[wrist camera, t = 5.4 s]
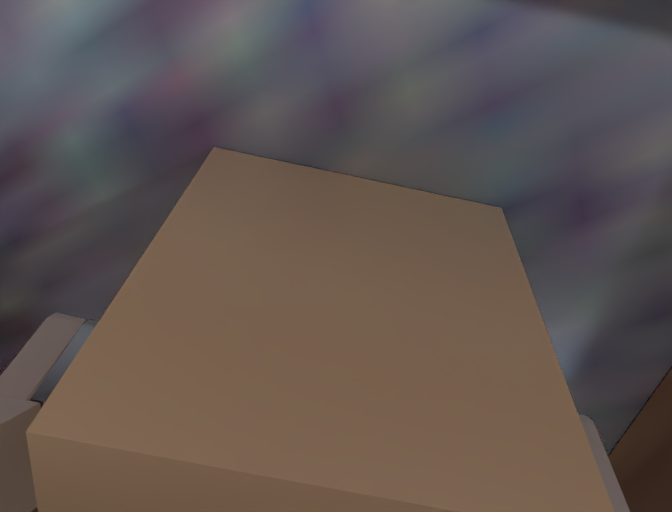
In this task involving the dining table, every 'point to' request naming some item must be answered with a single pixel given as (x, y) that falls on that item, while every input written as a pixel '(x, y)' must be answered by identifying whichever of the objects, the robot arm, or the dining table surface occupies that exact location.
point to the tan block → (317, 362)
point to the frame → (645, 455)
